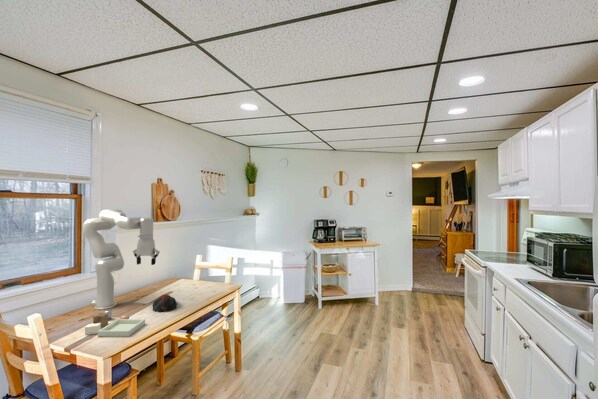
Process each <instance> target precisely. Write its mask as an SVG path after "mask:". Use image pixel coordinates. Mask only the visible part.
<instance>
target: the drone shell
mask: <svg viewBox="0 0 598 399" xmlns="http://www.w3.org/2000/svg"><path fill="white" fill-rule="evenodd" d="M177 303H178V302H177V300H176V299H175V297H173V296H171V295H169V294H162V295H160V296H158V298H156V299H154V301H153V302H152V306H151V307H152V311H153V312H154V313H168V312H172V311H174V310H176V309H177Z"/></svg>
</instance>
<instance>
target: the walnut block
mask: <svg viewBox="0 0 598 399" xmlns="http://www.w3.org/2000/svg"><path fill="white" fill-rule="evenodd" d="M92 318H93V320H92V324H96V323H101V328H104V327H106V326H107V325H109V320H108V313H104V312H103V313H102V312H99V313H97V314H95V315H94V316H92Z"/></svg>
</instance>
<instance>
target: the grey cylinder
mask: <svg viewBox="0 0 598 399" xmlns="http://www.w3.org/2000/svg"><path fill="white" fill-rule="evenodd" d="M112 312H113V311H112V309H104V310H103V313H108V321H111V320H112V318H113V316H112V315H113V314H112Z"/></svg>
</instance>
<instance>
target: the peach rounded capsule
mask: <svg viewBox="0 0 598 399" xmlns="http://www.w3.org/2000/svg"><path fill="white" fill-rule="evenodd" d="M119 319H130V315H129V314H122V315H121V316H120V318H119Z"/></svg>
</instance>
